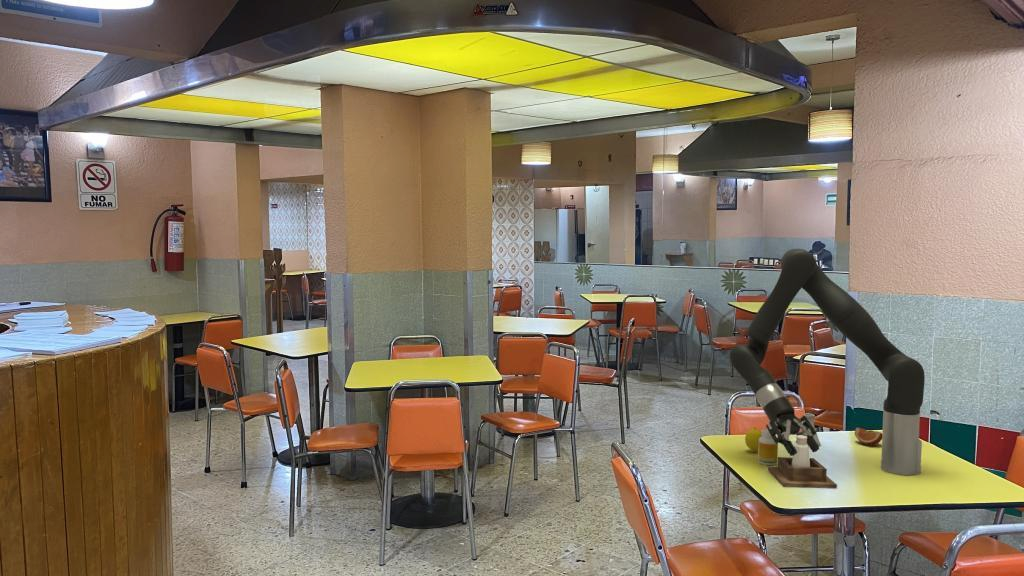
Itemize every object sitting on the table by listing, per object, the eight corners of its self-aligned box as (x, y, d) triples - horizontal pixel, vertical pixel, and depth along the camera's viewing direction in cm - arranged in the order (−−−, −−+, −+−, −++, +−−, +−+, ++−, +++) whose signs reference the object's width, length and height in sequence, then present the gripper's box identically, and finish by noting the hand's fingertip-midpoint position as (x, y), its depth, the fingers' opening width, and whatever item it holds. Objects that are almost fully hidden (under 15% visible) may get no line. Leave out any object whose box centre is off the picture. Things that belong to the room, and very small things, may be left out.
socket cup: (817, 471, 203) (818, 456, 202) (836, 488, 189) (837, 471, 188) (767, 470, 204) (768, 454, 203) (783, 486, 190) (783, 470, 189)
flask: (791, 442, 233) (792, 412, 232) (809, 440, 235) (810, 411, 234) (806, 448, 226) (807, 417, 225) (825, 446, 228) (826, 416, 227)
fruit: (744, 448, 225) (745, 423, 224) (762, 450, 223) (763, 425, 223) (745, 453, 220) (745, 428, 219) (764, 455, 218) (764, 429, 217)
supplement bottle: (778, 466, 207) (779, 433, 207) (759, 465, 208) (760, 432, 208) (775, 460, 213) (776, 429, 212) (756, 459, 214) (757, 427, 213)
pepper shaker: (813, 474, 197) (814, 435, 196) (808, 479, 192) (809, 440, 192) (792, 470, 200) (794, 432, 199) (787, 475, 196) (789, 436, 195)
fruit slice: (850, 442, 233) (851, 428, 232) (862, 439, 236) (862, 425, 236) (875, 449, 226) (875, 433, 225) (886, 446, 229) (887, 430, 229)
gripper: (763, 398, 198) (795, 448, 189) (799, 393, 205) (832, 442, 195) (749, 412, 203) (778, 462, 194) (784, 407, 210) (815, 456, 200)
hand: (805, 452), depth 195 cm, fingers open, 8 cm apart
